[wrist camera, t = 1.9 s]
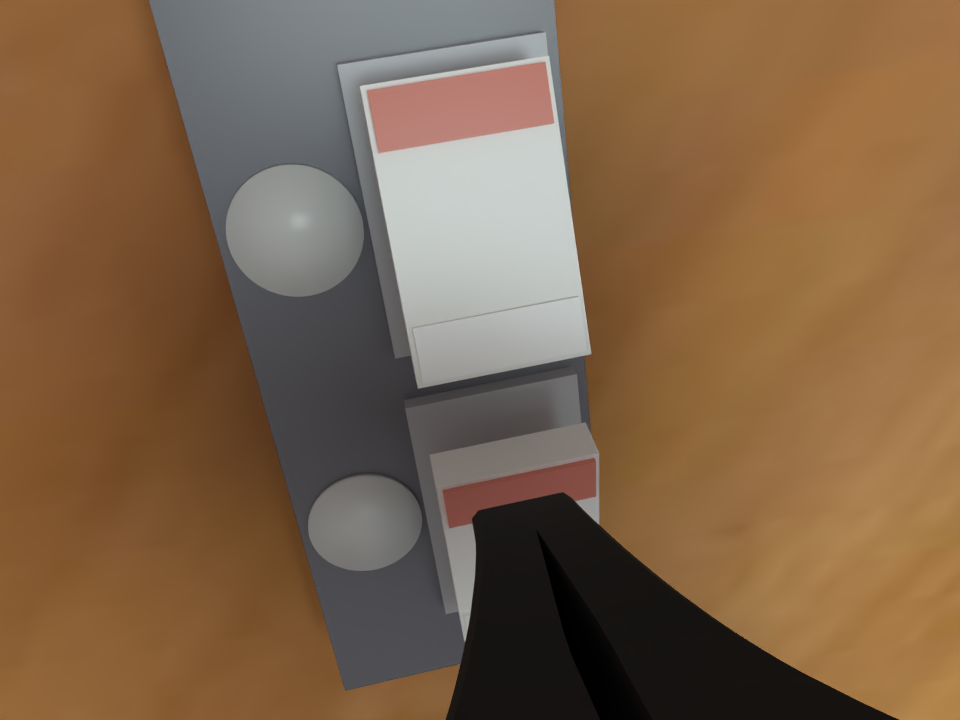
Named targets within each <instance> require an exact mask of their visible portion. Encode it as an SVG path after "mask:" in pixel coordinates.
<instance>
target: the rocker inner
mask: <svg viewBox="0 0 960 720" xmlns="http://www.w3.org/2000/svg"><path fill="white" fill-rule="evenodd" d="M430 460H431V466H432V471H433V477H434V482H435V488H436V493H437V499H438V504H439V510H440V515H441V521H442V526H443V531H444V537H445V542H446V548H447V553H448V559H449V564H450V570H451V575H452V581H453V586H454V592H455V597H456V603H457V608H458V613H459V618H460V623H461V627H462V632H463V637H464V642H465V640H466V636H467V631H468V626H469V620H470V614H471V605H472V597H473V589H474V580H475V564H476V542H475V536H474V530H473V524H472V518H473V516H474V515H475V514H476V513H477V511H478V510H482V509H487V508H491V507H496V506H501V505H505V504H510V503H514V502H519V501H524V500H528V499H533V498H538V497H542V496H547V495H552V494H556V493H561V492H564V493H565V494H567V495H568V496H570V497H571V498H572V499H573V500H574V501H575V502H576V503H577V504H578V505H579V506H580V507H581V508H582V509H583V510H584V511H585V512H586V513H587V514H588V515H589V516H590V517H591V518H592V519H593V520H594V521H596V522H597V523H598V524H599V451H598V449H597V447H596V445H595V442H594V440H593V438H592V436H591V433H590V431H589V429H588V427H587V425H586V422H585V423H580V424H575V425H570V426H565V427H560V428H556V429H551V430H546V431H541V432H536V433H532V434H527V435H522V436H517V437H512V438H507V439H503V440H498V441H493V442H488V443H483V444H479V445H474V446H469V447H464V448H459V449H454V450H450V451H445V452H440V453H435V454H430Z"/></svg>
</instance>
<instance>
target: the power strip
mask: <svg viewBox="0 0 960 720" xmlns="http://www.w3.org/2000/svg"><path fill="white" fill-rule="evenodd" d="M149 2H150V6H151V10H152V13H153V17H154V20H155V24H156V27H157V31H158V34H159V38H160V41H161V45H162V48H163V52H164V55H165V59H166V62H167V66H168V69H169V73H170V76H171V80H172V83H173V87H174V90H175V94H176V98H177V101H178V105H179V108H180V112H181V115H182V119H183V122H184V126H185V129H186V133H187V136H188V140H189V143H190V147H191V150H192V154H193V157H194V161H195V164H196V168H197V171H198V175H199V178H200V182H201V185H202V189H203V193H204V196H205V200H206V203H207V207H208V210H209V214H210V217H211V221H212V224H213V228H214V231H215V235H216V238H217V242H218V245H219V249H220V252H221V256H222V259H223V263H224V266H225V270H226V273H227V277H228V281H229V284H230V288H231V291H232V295H233V298H234V302H235V305H236V309H237V312H238V316H239V319H240V323H241V326H242V330H243V333H244V337H245V340H246V344H247V347H248V351H249V354H250V358H251V361H252V365H253V368H254V372H255V376H256V379H257V383H258V386H259V390H260V393H261V397H262V400H263V404H264V407H265V411H266V414H267V418H268V421H269V425H270V428H271V432H272V435H273V439H274V442H275V446H276V449H277V453H278V456H279V460H280V464H281V467H282V471H283V474H284V478H285V481H286V485H287V488H288V492H289V495H290V499H291V502H292V506H293V509H294V513H295V516H296V520H297V523H298V527H299V530H300V534H301V537H302V541H303V544H304V548H305V551H306V555H307V559H308V562H309V566H310V569H311V573H312V576H313V580H314V583H315V587H316V590H317V594H318V597H319V601H320V604H321V608H322V611H323V615H324V618H325V622H326V625H327V629H328V632H329V636H330V639H331V643H332V647H333V650H334V654H335V657H336V661H337V664H338V668H339V671H340V675H341V678H342V682H343V685H344V689H345V691H346V690H350V689H354V688H359V687H363V686H367V685H372V684H376V683H380V682H384V681H389V680H393V679H397V678H401V677H406V676H410V675H414V674H418V673H423V672H427V671H431V670H436V669H440V668H444V667H448V666H453V665H457V664H461V660H462V655H463V650H464V645H465V642H464V637H463V632H462V627H461V623H460V618H459V613H458V608H457V603H456V597H455V592H454V586H453V581H452V575H451V570H450V564H449V559H448V553H447V548H446V542H445V537H444V531H443V526H442V521H441V515H440V510H439V504H438V499H437V493H436V488H435V482H434V477H433V471H432V466H431V460H430V454H435V453H440V452H445V451H450V450H454V449H459V448H464V447H469V446H474V445H479V444H483V443H488V442H493V441H498V440H503V439H507V438H512V437H517V436H522V435H527V434H532V433H536V432H541V431H546V430H551V429H556V428H560V427H565V426H570V425H575V424H580V423H585V422H586V425H587V427H588V429H589V431H590V433H591V430H590V418H589V406H588V394H587V383H586V371H585V359H584V356H580V357H575V358H570V359H565V360H560V361H555V362H550V363H545V364H540V365H535V366H530V367H525V368H520V369H515V370H510V371H505V372H500V373H494V374H489V375H484V376H479V377H474V378H469V379H464V380H459V381H454V382H449V383H444V384H439V385H434V386H429V387H424V388H419V389H418V386H417V383H416V379H415V375H414V369H413V364H412V359H411V354H410V349H409V343H408V338H407V333H406V328H405V323H404V318H403V312H402V307H401V302H400V297H399V292H398V286H397V281H396V276H395V271H394V266H393V261H392V255H391V250H390V245H389V240H388V235H387V229H386V224H385V219H384V214H383V209H382V204H381V198H380V193H379V188H378V183H377V178H376V172H375V167H374V162H373V157H372V152H371V147H370V141H369V136H368V131H367V126H366V121H365V115H364V110H363V105H362V100H361V95H360V86H363V85H369V84H375V83H381V82H388V81H394V80H400V79H406V78H412V77H419V76H425V75H431V74H437V73H444V72H450V71H456V70H462V69H468V68H475V67H481V66H487V65H493V64H500V63H506V62H512V61H518V60H524V59H531V58H537V57H543V56H549V59H550V66H551V73H552V80H553V87H554V94H555V101H556V108H557V115H558V122H559V129H560V136H561V143H562V150H563V157H564V164H565V171H566V178H567V186H568V193H569V200H570V207H571V195H570V183H569V172H568V160H567V148H566V136H565V125H564V113H563V101H562V90H561V78H560V66H559V54H558V43H557V31H556V19H555V7H554V0H149ZM571 214H572V207H571ZM572 221H573V218H572Z"/></svg>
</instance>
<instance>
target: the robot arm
mask: <svg viewBox="0 0 960 720" xmlns="http://www.w3.org/2000/svg"><path fill="white" fill-rule="evenodd" d="M472 524H473V530H474V536H475V542H476V564H475V580H474V589H473V597H472V605H471V614H470V620H469V626H468V631H467V636H466V640H465V645H464V650H463V655H462V660H461V665H460V669H459V674H458V678H457V681H456V685H455V689H454V693H453V697H452V700H451V704H450V707H449V711H448V714H447V717H446V720H899V719H896V718H894V717H892V716H889V715H887V714H885V713H883V712H881V711H879V710H876V709H874V708H872V707H870V706H868V705H866V704H863V703H861V702H859V701H857V700H855V699H853V698H851V697H850V696H848V695H846V694H844V693H842V692H840V691H838V690H836V689H834V688H832V687H830V686H828V685H826V684H824V683H822V682H820V681H818V680H816V679H814V678H812V677H810V676H808V675H806V674H804V673H802V672H800V671H798V670H797V669H795V668H793V667H791V666H789V665H788V664H786V663H784V662H782V661H781V660H779V659H777V658H775V657H774V656H772V655H770V654H769V653H767V652H766V651H764V650H762V649H761V648H759V647H757V646H756V645H754V644H753V643H751V642H749V641H748V640H746V639H744V638H743V637H741V636H740V635H738V634H737V633H735V632H734V631H732V630H731V629H729V628H728V627H726V626H725V625H723V624H722V623H720V622H719V621H717V620H716V619H715V618H713V617H712V616H710V615H709V614H707V613H706V612H705V611H703V610H702V609H701V608H699V607H698V606H696V605H695V604H694V603H692V602H691V601H690V600H688V599H687V598H685V597H684V596H683V595H681V594H680V593H679V592H678V591H676V590H675V589H674V588H672V587H671V586H670V585H668V584H667V583H666V582H665V581H663V580H662V579H661V578H660V577H658V576H657V575H656V574H655V573H654V572H652V571H651V570H650V569H649V568H648V567H646V566H645V565H644V564H643V563H642V562H640V561H639V560H638V559H637V558H635V557H634V556H633V555H632V554H631V553H630V552H628V551H627V550H626V549H625V548H624V547H623V546H622V545H620V544H619V543H618V542H617V541H616V540H615V539H614V538H613V537H612V536H611V535H609V534H608V533H607V532H606V531H605V530H604V529H603V528H602V527H601V526H600V525H599V524H598V523H597V522H596V521H594V520H593V519H592V518H591V517H590V516H589V515H588V514H587V513H586V512H585V511H584V510H583V509H582V508H581V507H580V506H579V505H578V504H577V503H576V502H575V501H574V500H573V499H572V498H571V497H570V496H568V495H567V494H565V493H564V492H561V493H556V494H552V495H547V496H542V497H538V498H533V499H528V500H524V501H519V502H514V503H510V504H505V505H501V506H496V507H491V508H487V509H482V510H478V511H477V513H476V514H475V515H474V516H473V518H472Z"/></svg>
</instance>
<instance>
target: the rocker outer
mask: <svg viewBox="0 0 960 720" xmlns="http://www.w3.org/2000/svg"><path fill="white" fill-rule="evenodd" d="M360 95H361V100H362V105H363V110H364V115H365V121H366V126H367V131H368V136H369V141H370V147H371V152H372V157H373V162H374V167H375V172H376V178H377V183H378V188H379V193H380V198H381V204H382V209H383V214H384V219H385V224H386V229H387V235H388V240H389V245H390V250H391V255H392V261H393V266H394V271H395V276H396V281H397V286H398V292H399V297H400V302H401V307H402V312H403V318H404V323H405V328H406V333H407V338H408V343H409V349H410V354H411V359H412V364H413V369H414V375H415V379H416V383H417V386H418V389H419V388H424V387H429V386H434V385H439V384H444V383H449V382H454V381H459V380H464V379H469V378H474V377H479V376H484V375H489V374H494V373H500V372H505V371H510V370H515V369H520V368H525V367H530V366H535V365H540V364H545V363H550V362H555V361H560V360H565V359H570V358H575V357H580V356H585V355H590V354H591V348H590V341H589V333H588V326H587V319H586V312H585V305H584V298H583V291H582V284H581V277H580V270H579V263H578V256H577V249H576V242H575V235H574V228H573V221H572V214H571V207H570V200H569V193H568V186H567V178H566V171H565V164H564V157H563V150H562V143H561V136H560V129H559V122H558V115H557V108H556V101H555V94H554V87H553V80H552V73H551V66H550V59H549V56H543V57H537V58H531V59H524V60H518V61H512V62H506V63H500V64H493V65H487V66H481V67H475V68H468V69H462V70H456V71H450V72H444V73H437V74H431V75H425V76H419V77H412V78H406V79H400V80H394V81H388V82H381V83H375V84H369V85H363V86H360Z"/></svg>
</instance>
